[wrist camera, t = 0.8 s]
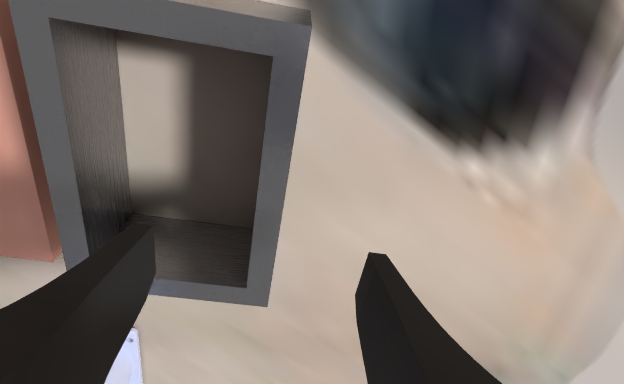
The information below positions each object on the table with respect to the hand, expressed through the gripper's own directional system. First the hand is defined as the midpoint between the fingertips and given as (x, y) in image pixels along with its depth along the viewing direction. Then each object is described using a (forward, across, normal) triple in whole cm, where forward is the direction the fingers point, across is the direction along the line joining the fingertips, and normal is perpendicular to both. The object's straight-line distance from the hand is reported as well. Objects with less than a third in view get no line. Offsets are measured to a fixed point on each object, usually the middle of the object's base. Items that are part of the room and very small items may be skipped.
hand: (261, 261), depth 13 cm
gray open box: (+9, +4, 0) cm, 10 cm away
